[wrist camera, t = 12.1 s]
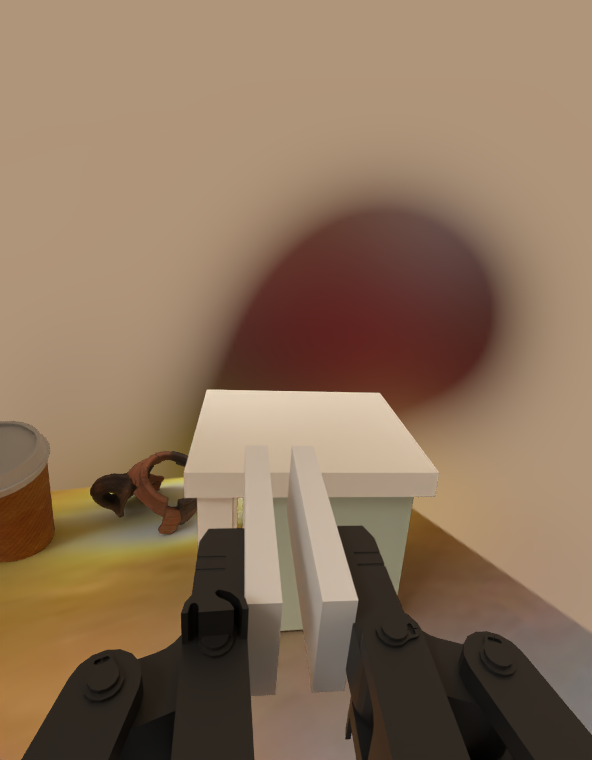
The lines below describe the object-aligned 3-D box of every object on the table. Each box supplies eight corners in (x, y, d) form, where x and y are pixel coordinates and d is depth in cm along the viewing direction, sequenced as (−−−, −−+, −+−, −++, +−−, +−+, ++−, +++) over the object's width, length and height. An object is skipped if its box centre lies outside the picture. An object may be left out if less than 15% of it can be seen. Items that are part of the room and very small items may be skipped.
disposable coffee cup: (-60, 570, 42) (-111, 478, 36) (10, 497, 50) (-21, 411, 44) (33, 589, 41) (-3, 497, 35) (89, 511, 49) (68, 426, 43)
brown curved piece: (178, 482, 59) (201, 442, 54) (193, 549, 53) (221, 511, 48) (79, 484, 51) (97, 439, 47) (84, 562, 46) (106, 519, 41)
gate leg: (240, 633, 36) (243, 495, 32) (240, 613, 38) (243, 480, 34) (392, 623, 38) (414, 491, 34) (385, 604, 40) (405, 477, 36)
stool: (189, 648, 35) (183, 472, 30) (208, 521, 50) (207, 389, 45) (408, 640, 37) (439, 472, 32) (363, 520, 52) (379, 393, 47)
